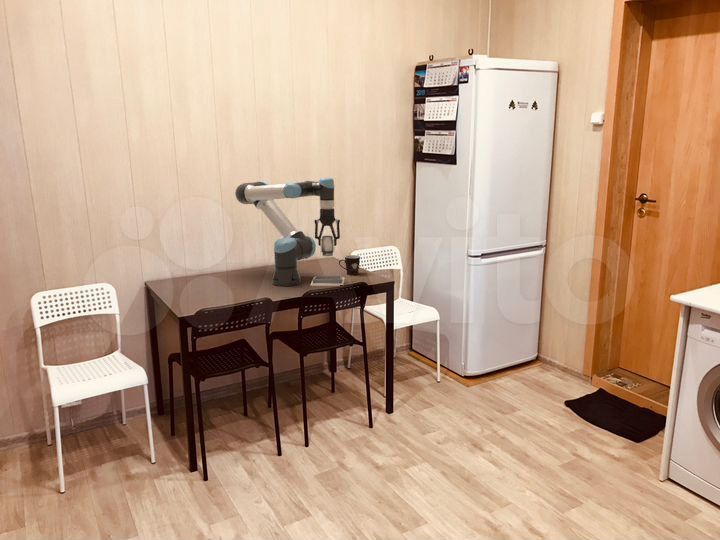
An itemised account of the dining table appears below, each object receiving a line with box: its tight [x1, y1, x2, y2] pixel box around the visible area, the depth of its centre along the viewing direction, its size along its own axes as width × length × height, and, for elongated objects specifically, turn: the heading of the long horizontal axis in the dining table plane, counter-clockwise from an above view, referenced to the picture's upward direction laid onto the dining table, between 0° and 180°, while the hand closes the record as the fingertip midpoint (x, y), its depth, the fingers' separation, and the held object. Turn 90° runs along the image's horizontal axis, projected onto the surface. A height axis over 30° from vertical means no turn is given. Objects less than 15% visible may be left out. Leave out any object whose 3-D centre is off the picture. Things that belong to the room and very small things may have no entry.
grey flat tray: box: [310, 275, 345, 287], centre depth 306 cm, size 17×16×2 cm
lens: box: [321, 234, 334, 257], centre depth 302 cm, size 6×6×10 cm
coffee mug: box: [338, 254, 361, 276], centre depth 324 cm, size 12×9×10 cm
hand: (327, 251), depth 303 cm, fingers closed on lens, 6 cm apart
